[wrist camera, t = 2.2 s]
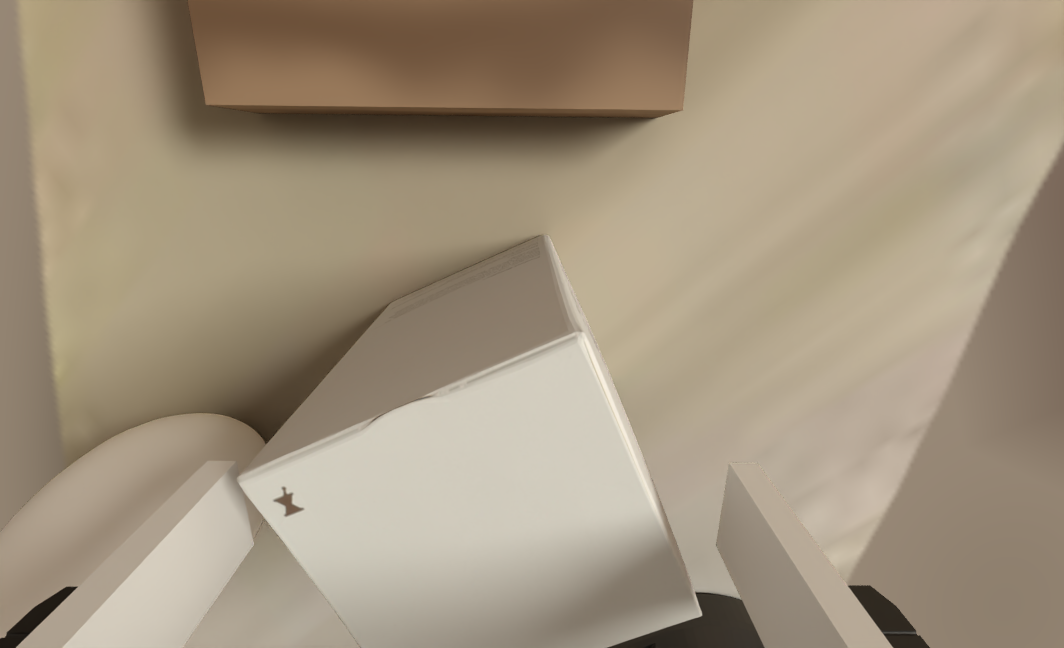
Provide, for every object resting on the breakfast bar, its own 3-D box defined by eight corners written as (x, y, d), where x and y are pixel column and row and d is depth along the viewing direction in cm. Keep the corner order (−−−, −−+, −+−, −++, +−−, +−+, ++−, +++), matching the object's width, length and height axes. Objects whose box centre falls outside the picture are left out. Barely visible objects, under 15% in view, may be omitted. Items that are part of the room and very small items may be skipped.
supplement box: (464, 443, 28) (402, 730, 14) (386, 301, 26) (213, 480, 12) (616, 382, 27) (714, 628, 13) (551, 228, 25) (584, 326, 10)
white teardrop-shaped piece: (169, 361, 27) (-469, 727, 10) (318, 401, 27) (-26, 807, 10) (156, 482, 29) (-378, 952, 12) (293, 516, 30) (-21, 1002, 13)
